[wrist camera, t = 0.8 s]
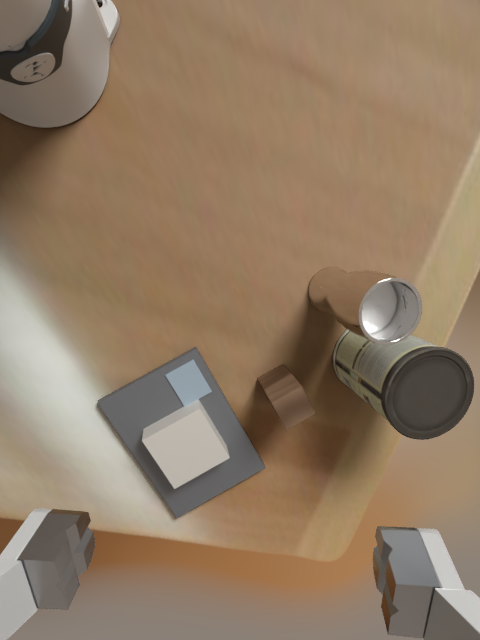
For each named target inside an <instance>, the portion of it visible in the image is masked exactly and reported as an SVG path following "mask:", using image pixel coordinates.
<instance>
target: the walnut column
mask: <svg viewBox="0 0 480 640" xmlns="http://www.w3.org/2000/svg"><path fill="white" fill-rule="evenodd" d="M257 379H258V380H259V382H260V384H261V386H262V388H263V390H264V391H265V393H266V395H267V397H268V399H269V401H270V402H271V404H272V406H273V408H274V409H275V411H276V413H277V415H278V416H279V418H280V420H281V422H282V423H283V425H284V427H285V429H286V430H287V429H289V428H291V427H293V426H294V425H296V424H298V423H300V422H302V421H303V420H305V419H307V418H309V417H310V416H312V415H314V414H316V413H315V411H314V409H313V407H312V405H311V403H310V401H309V399H308V397H307V395H306V393H305V391H304V389H303V387H302V386H301V384H300V383H299V382H298V381H297V380H296V378H295V377H294V376H293V375H292V374H291V372H290V371H289V370H288V369H287V368H286V366H285V365H284V364H282V365H280V366H278V367H276V368H275V369H273V370H271V371H269V372H267V373H266V374H264V375H262V376H260V377H258V378H257Z"/></svg>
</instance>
